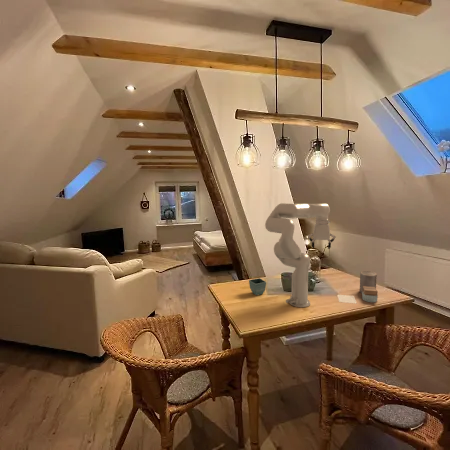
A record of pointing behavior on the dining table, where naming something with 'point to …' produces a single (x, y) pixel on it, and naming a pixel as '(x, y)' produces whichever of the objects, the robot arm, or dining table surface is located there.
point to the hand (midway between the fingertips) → (321, 248)
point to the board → (370, 291)
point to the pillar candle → (367, 279)
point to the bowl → (369, 298)
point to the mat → (346, 299)
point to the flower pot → (257, 286)
